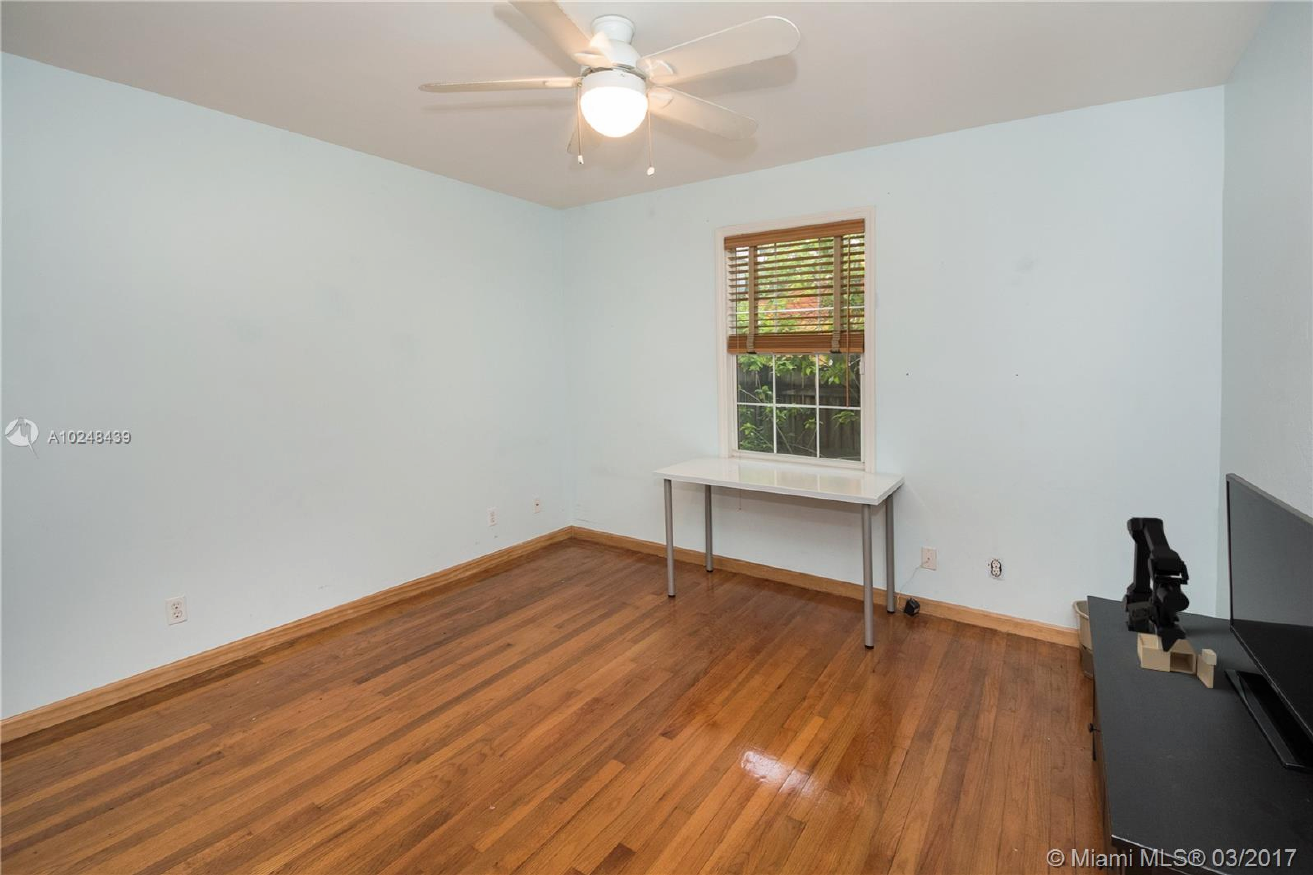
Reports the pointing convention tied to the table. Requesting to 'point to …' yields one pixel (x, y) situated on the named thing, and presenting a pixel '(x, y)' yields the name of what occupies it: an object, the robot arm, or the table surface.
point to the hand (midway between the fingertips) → (1163, 647)
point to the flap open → (1206, 666)
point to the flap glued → (1155, 657)
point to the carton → (1173, 653)
